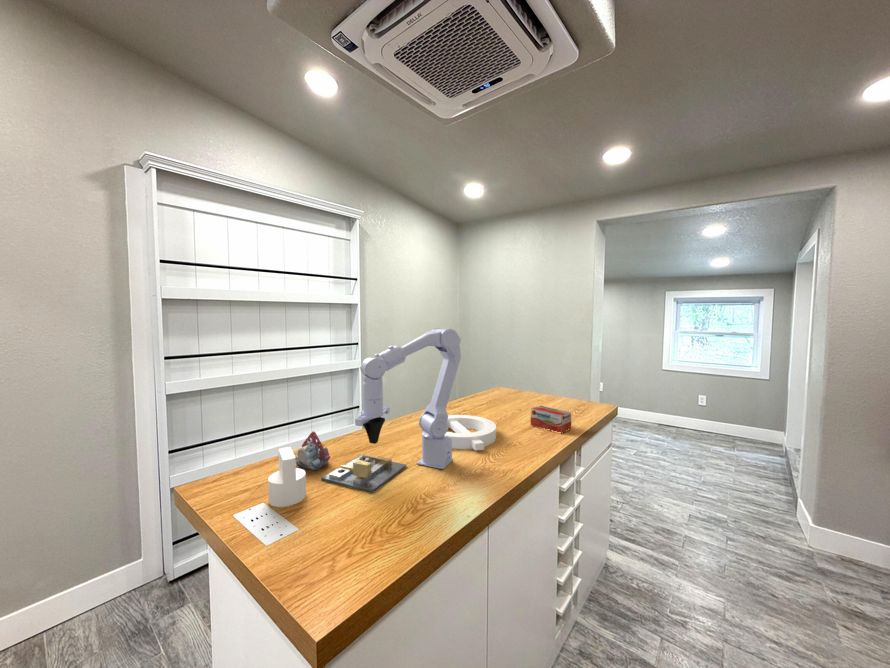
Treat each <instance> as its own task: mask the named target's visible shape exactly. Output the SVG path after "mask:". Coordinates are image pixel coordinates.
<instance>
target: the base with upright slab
mask: <svg viewBox="0 0 890 668" xmlns="http://www.w3.org/2000/svg"><path fill="white" fill-rule="evenodd" d="M291 447H292V446H288V447H287V446H286V447H281V448H278V470H277V471H275V472H273V473H272V474H270V475H269V476H268V478H267V482H268V485H267V487H268V488H267V489H268V504H269V503H270V504H271V505H270V504H269V505H270V506H272V507H274V506H275V508H283V507H284V508H286V507H290V505H291V506H294V505H296V504H298V503H301V502H302V501H303V500H305V498H306V496H307V484H306V483H307V481H306V480H307V479H306V478H307V475H306V474H307V473H306V470H305V469H304V468H303V469H302V468H301V467H296V457H295V454H294V451H293V449H292V448H291ZM293 504H294V505H293Z"/></svg>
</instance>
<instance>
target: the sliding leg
mask: <svg viewBox="0 0 890 668" xmlns="http://www.w3.org/2000/svg"><path fill="white" fill-rule="evenodd" d="M339 467H340V468H342V469H347V470H351V471H353V475H354V476H359V477H363V478H369V477H370V476H372V464H371V463H369V462H365V461H360V460H356V461H355V462H353V467H349V466H345V465H344V464H340V465H339Z"/></svg>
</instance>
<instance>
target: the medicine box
mask: <svg viewBox="0 0 890 668" xmlns="http://www.w3.org/2000/svg"><path fill="white" fill-rule="evenodd" d="M531 425H533V426H532V427H534V426H537V427H541V428H545V429H550V430H553V431H557V432H561V433H562V432H564V431H566V430H568V429H570V428H571V429H572V412H571V411H568V410H564V409H558V408H553V407H549V406H544V405H538V406H535V407H531V408H530V426H531ZM537 427H536V428H537ZM541 428H540V429H541ZM566 432H567V431H566ZM564 433H565V432H564Z"/></svg>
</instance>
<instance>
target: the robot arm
mask: <svg viewBox="0 0 890 668" xmlns="http://www.w3.org/2000/svg"><path fill="white" fill-rule="evenodd" d="M461 340H462V339H461V337H460V336H459V334H458V331H456V330H454V329H452V328H440V327H436V328H434V329H432V330H428V331H427V332H425V333H424V334H421V335H420V336H418V337H416V338H414V339H413V340H411V341H410V342H408V343H406V344H404V345H402V346H399V345H393V344H392V345H389V346H387V349H386V350H383V351H382V352H380V353H378V352H377V353H375V354H374V355H373V356H374V357H371V356H370V357H366V358H365V359H364V360H363V362H362V363H361V366H360V367H359V368H360V372H361V374H363V376H362V377H363V378H362V379H363V382H362V391H363V392H362V399H363V404H362V405H363V409H362V411H360V414H359V416H358V417H357V418H356V417H355V418H354V425H355V426H357V427H358V426H359V427H362V426H363V428H364V430H365V432H366V435H367V438H368V441H369V443H370V444H373V445H376V444H378V442H379V438H380V434H381V430H382V428H383V425H384V424H385V422H386V419H385V417H383V416H384V415H385V414H387V415H389V414H390V407H389V406H384V389H383V388H384V387H383V386H384V385H383V376H384V375H385V373H386V372H388V371H390V370H392V369H394V368H395V367H398V366H400V365H401V364H403V363H404V362H405V361H406V358H407V357H408V356H410V355H413V354H414V353H416V352H419V351H420V350H422V349H425V348H427V347H434V348H435V349H436V350H438V351H439V353H440V355H441V356H442V358H443V359H442V363H441V366H440V369H439V372H438V377H437V380H436V383H435V387H434V390H433V393H432V397H431V400H430V403H429V404H428V405H427V406H426V407H425V409H424V411H423V413H422V414H421V415H420V416H419V419H418V425H419V427H420V429H421V430H422V433H421V459H419V460H418V461H417V462H416V464H417V465H421V466H426V467H431V468H435V469H439V470H444V469H445V468H446V467H447V466H448V465H450V464H451V462H452V461H453V449H452V440H451V438H449V437H446V436H445V434H446V432H448V430H449V429H448V425H447V420H448V415H449V414H448V411H447V406H448V402H449V399H450V396H451V393H452V390H453V386H454V383H455V380H456V379H455V378H456V376H457V371H458V368H459V365H460V361H461V357H462V354H461V346H460V344H461Z"/></svg>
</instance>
